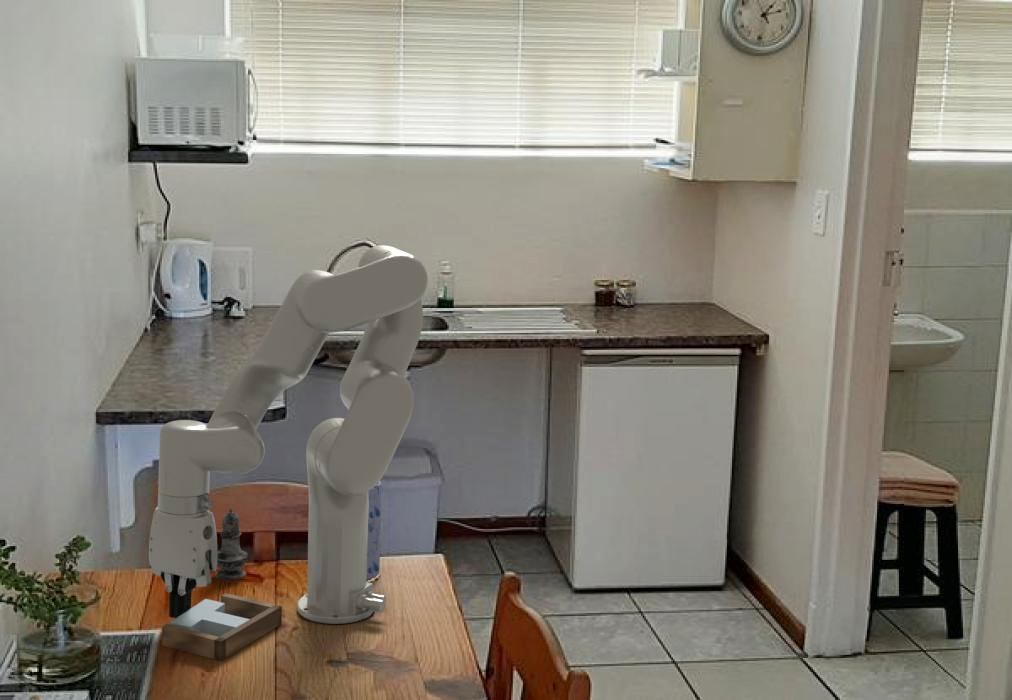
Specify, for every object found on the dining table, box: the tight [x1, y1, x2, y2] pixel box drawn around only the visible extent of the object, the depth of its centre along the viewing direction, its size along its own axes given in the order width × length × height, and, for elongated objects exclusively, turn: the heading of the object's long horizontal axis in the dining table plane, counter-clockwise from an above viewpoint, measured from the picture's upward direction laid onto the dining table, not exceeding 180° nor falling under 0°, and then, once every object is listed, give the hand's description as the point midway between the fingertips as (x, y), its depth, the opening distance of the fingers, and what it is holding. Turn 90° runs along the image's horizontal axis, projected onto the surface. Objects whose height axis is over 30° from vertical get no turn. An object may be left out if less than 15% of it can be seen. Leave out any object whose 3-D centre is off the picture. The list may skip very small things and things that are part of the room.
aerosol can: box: [367, 480, 383, 581], centre depth 214 cm, size 8×8×20 cm
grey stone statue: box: [214, 507, 249, 581], centre depth 213 cm, size 6×6×12 cm
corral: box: [161, 592, 283, 662], centre depth 189 cm, size 11×15×3 cm
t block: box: [169, 598, 250, 637], centre depth 189 cm, size 10×10×2 cm
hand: (179, 615), depth 191 cm, fingers closed
